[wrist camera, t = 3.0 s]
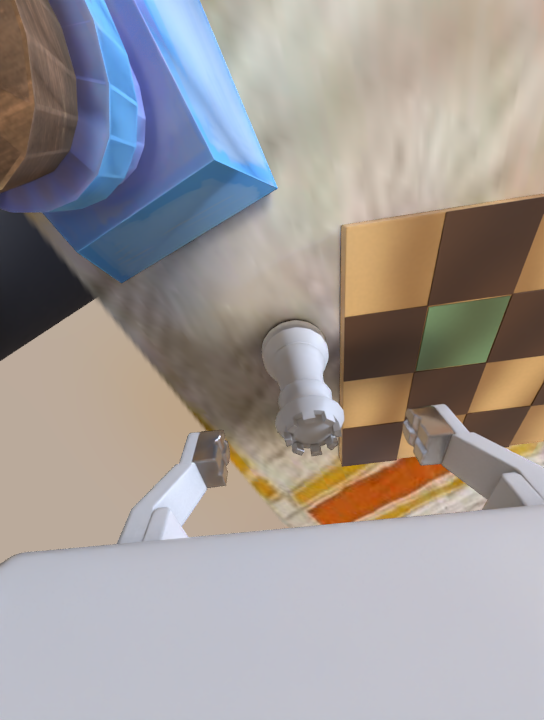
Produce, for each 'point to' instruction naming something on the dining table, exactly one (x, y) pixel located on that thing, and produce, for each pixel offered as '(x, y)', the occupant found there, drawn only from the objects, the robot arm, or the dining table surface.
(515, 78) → the dining table surface
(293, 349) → the rook chess piece
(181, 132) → the perfume bottle
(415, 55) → the dining table surface
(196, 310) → the dining table surface
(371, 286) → the chessboard
